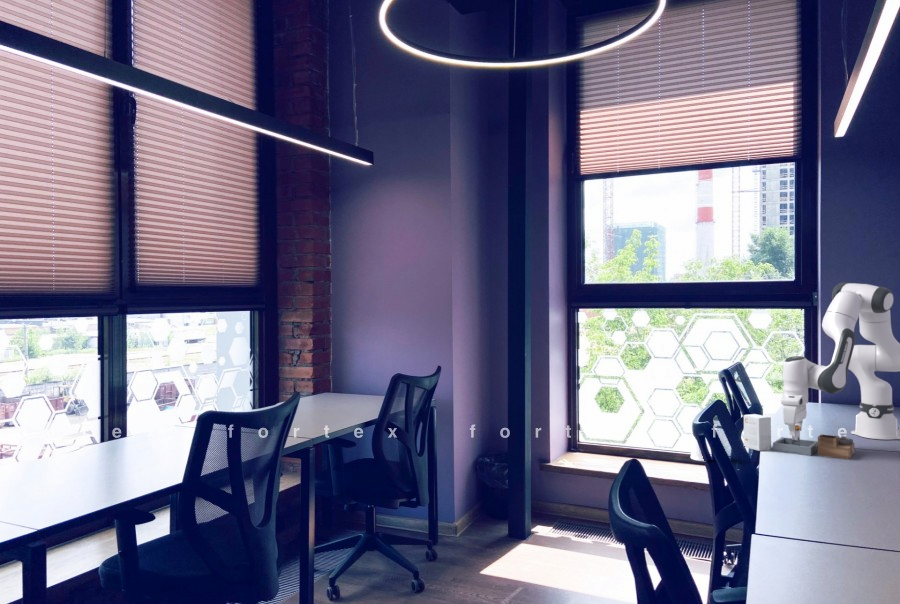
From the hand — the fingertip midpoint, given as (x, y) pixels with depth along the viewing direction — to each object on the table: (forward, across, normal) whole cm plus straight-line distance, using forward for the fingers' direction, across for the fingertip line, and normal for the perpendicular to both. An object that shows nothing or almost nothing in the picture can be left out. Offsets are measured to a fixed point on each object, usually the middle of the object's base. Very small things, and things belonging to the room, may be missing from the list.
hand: (795, 433), depth 256 cm
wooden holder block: (+7, -2, +14) cm, 15 cm away
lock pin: (+6, 0, 0) cm, 6 cm away
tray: (+7, 0, 0) cm, 7 cm away
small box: (+7, +6, -12) cm, 16 cm away
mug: (+7, +37, -24) cm, 44 cm away
